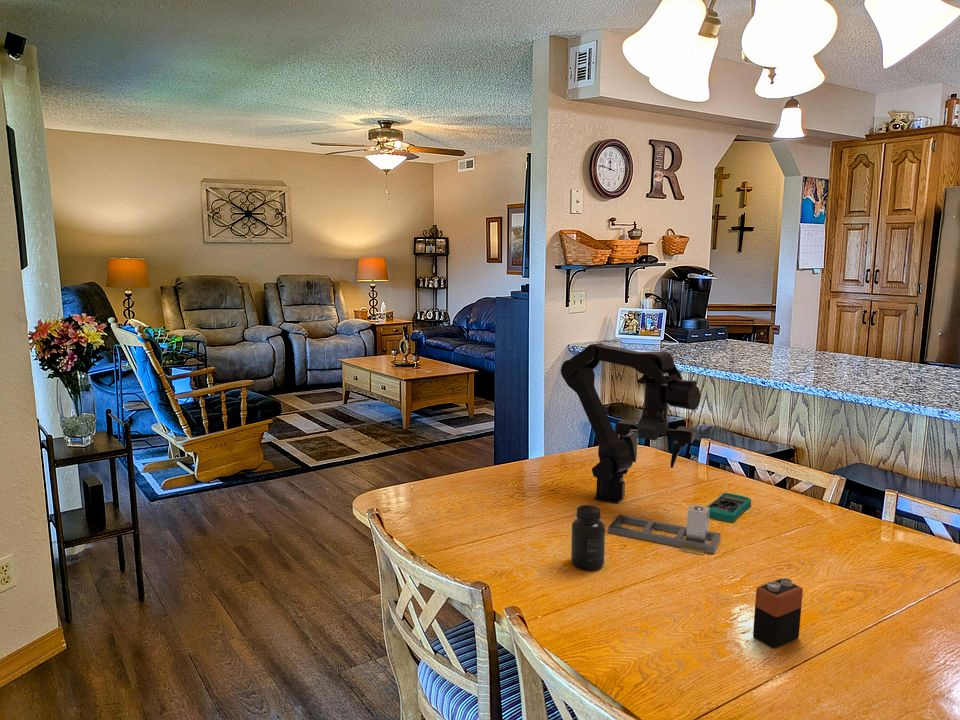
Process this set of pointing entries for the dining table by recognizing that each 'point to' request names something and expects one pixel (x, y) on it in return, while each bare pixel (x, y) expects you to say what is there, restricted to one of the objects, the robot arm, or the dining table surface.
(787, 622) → the battery
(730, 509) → the digital multimeter
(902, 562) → the dining table surface
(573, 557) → the supplement bottle
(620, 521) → the rail frame
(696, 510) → the grey tall square block
